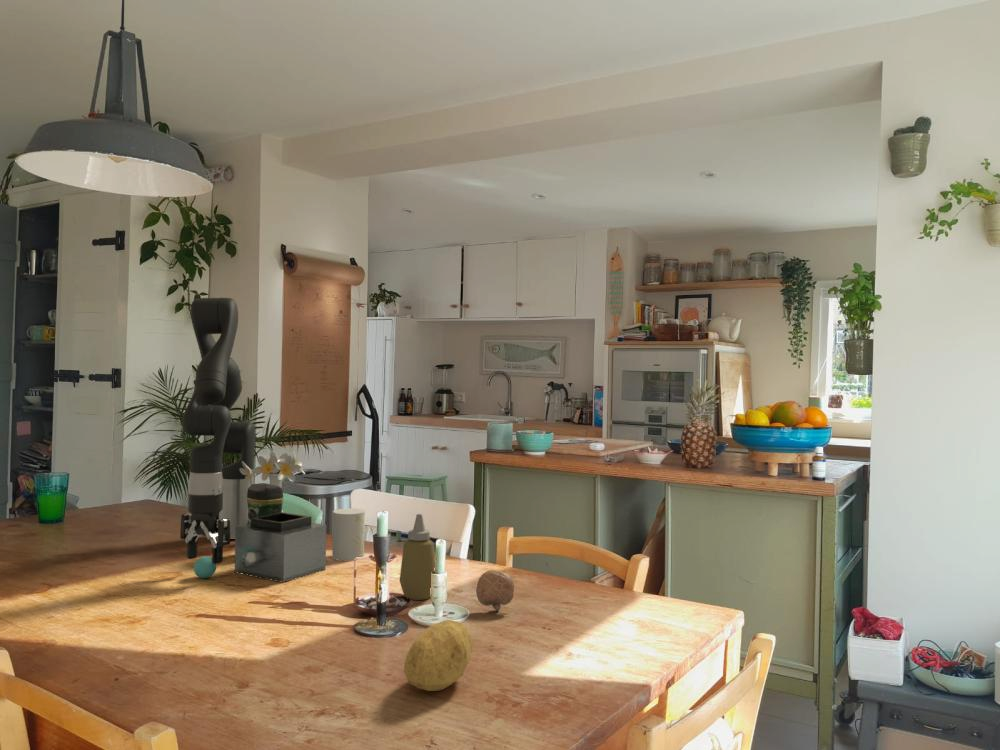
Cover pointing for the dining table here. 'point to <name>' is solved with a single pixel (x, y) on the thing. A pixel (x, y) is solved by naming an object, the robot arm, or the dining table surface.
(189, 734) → the dining table surface
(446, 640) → the potato
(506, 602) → the mushroom
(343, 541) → the grey cylinder
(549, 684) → the dining table surface
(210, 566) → the teal ball
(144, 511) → the dining table surface
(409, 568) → the squeeze bottle
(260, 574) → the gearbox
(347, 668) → the dining table surface
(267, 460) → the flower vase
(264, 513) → the coffee jar
